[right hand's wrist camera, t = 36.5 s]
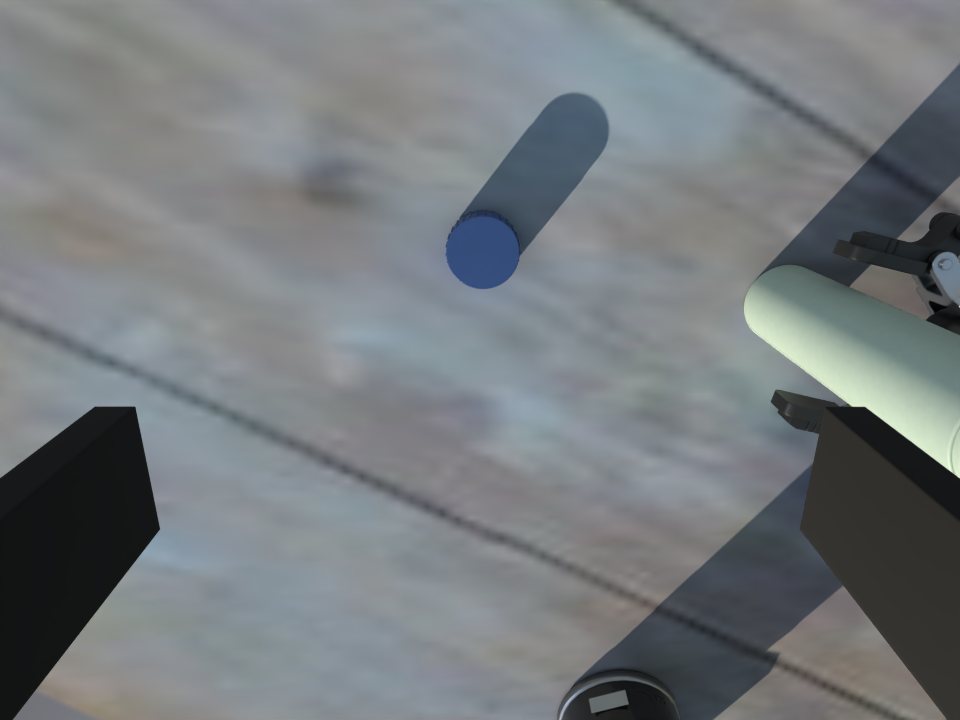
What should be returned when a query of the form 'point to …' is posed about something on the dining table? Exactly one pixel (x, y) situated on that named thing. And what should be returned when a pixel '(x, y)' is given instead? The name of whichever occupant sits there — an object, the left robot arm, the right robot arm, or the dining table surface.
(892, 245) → the left robot arm
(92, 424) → the right robot arm
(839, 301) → the bottle
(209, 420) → the dining table surface
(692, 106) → the dining table surface
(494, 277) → the cap
